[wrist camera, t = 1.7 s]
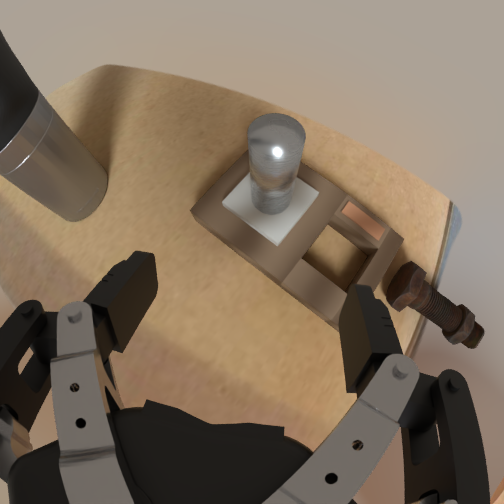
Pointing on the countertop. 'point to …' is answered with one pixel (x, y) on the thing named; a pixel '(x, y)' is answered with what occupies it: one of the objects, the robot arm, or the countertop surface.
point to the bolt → (433, 306)
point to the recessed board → (297, 234)
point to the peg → (274, 160)
